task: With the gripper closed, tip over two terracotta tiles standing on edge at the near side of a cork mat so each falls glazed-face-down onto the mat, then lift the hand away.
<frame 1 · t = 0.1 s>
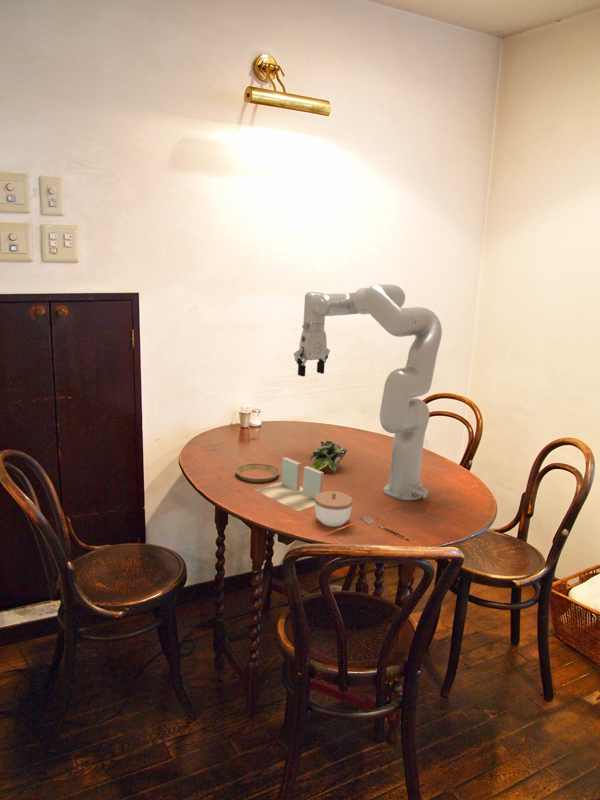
hand: (310, 374, 225), 31 cm above the table, fingers open, 9 cm apart
fork: (386, 532, 175), on the table
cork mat: (291, 496, 195), on the table
tile B: (290, 486, 201), point 1 cm above the table, touching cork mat
plant saucer: (257, 478, 209), on the table
tile A: (312, 496, 194), point 1 cm above the table, touching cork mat
lidded jar: (331, 524, 178), on the table
passion flower: (327, 471, 219), on the table
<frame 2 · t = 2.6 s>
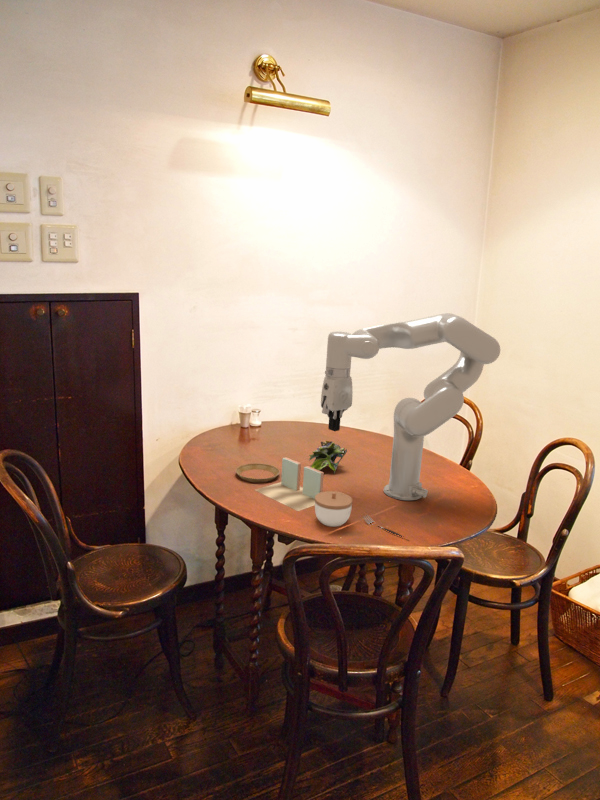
hand: (333, 429, 194), 21 cm above the table, fingers closed
nothing on the table moved.
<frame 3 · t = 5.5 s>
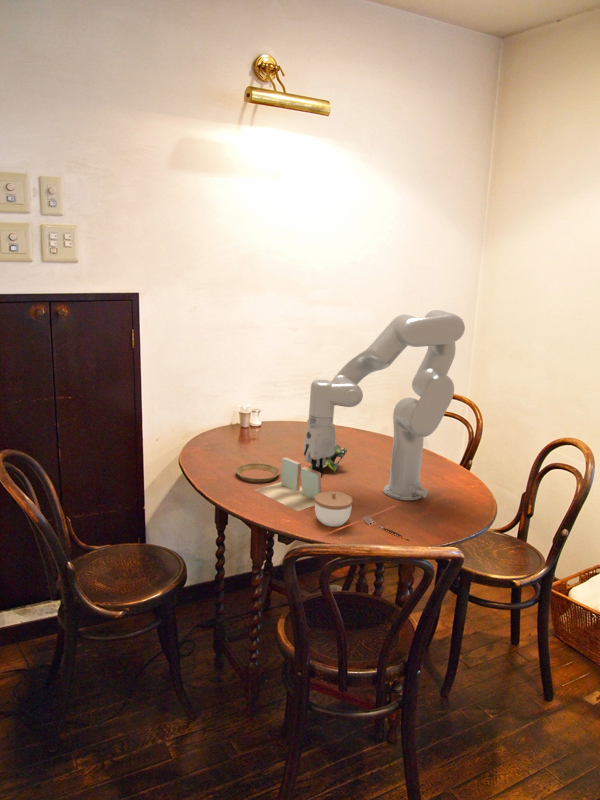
hand: (316, 476, 194), 7 cm above the table, fingers closed
tile A: (312, 496, 194), point 1 cm above the table, tilted 8°, touching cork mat
everything else where it was.
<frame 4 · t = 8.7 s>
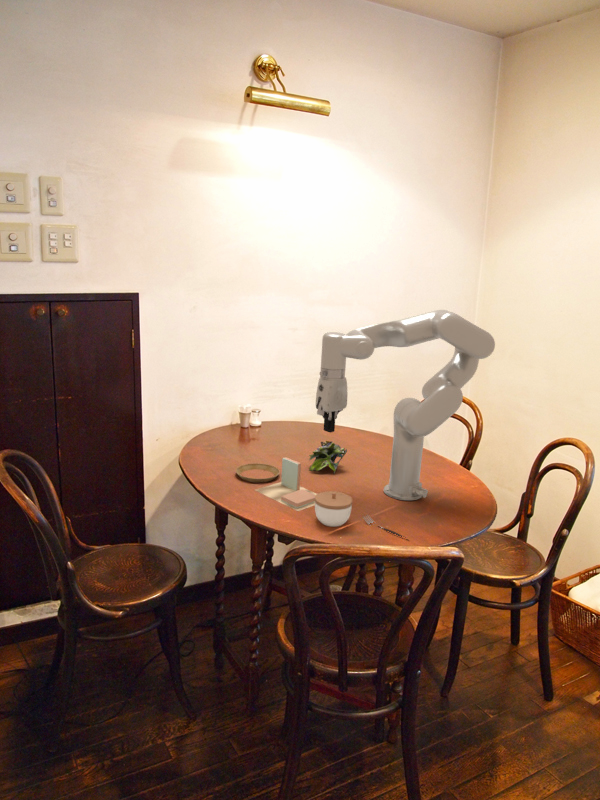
hand: (328, 431, 193), 21 cm above the table, fingers closed
tile A: (310, 495, 193), point 1 cm above the table, tilted 90°, touching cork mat
everything else where it was.
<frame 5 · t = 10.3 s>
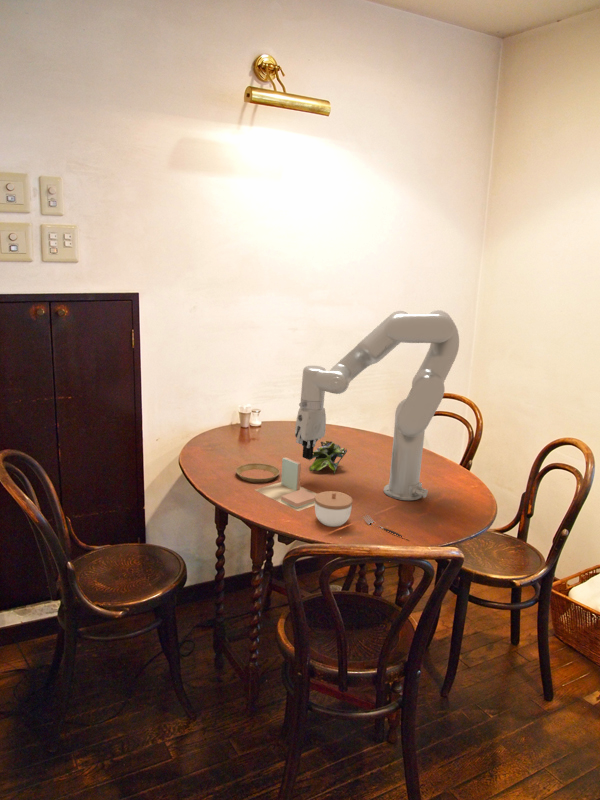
hand: (307, 457, 204), 9 cm above the table, fingers closed
nothing on the table moved.
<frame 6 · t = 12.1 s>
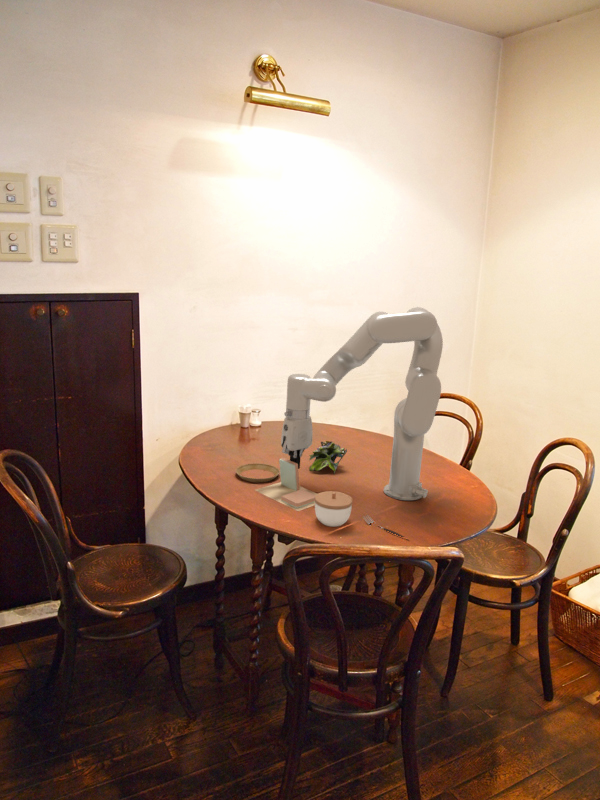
hand: (294, 467, 200), 7 cm above the table, fingers closed
tile B: (290, 486, 201), point 1 cm above the table, tilted 9°, touching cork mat
everything else where it was.
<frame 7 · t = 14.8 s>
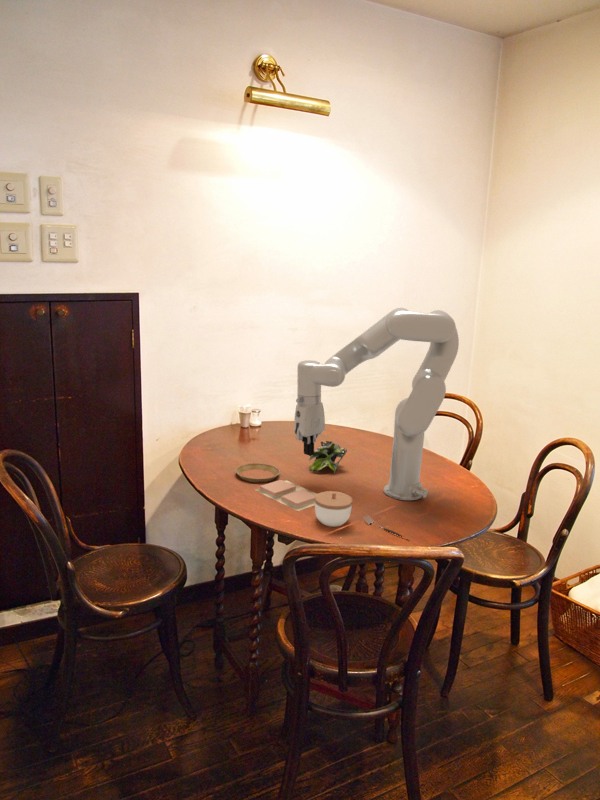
hand: (308, 454, 202), 11 cm above the table, fingers closed
tile B: (288, 485, 200), point 1 cm above the table, tilted 90°, touching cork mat
everything else where it was.
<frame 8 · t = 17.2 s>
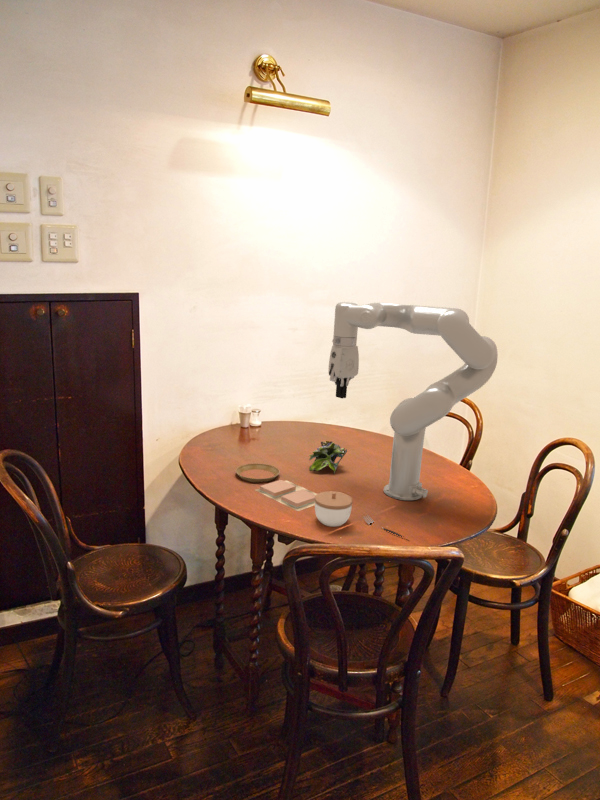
hand: (340, 397, 203), 29 cm above the table, fingers closed
nothing on the table moved.
at the end: tile A tilted 90°; tile B tilted 90°; tile A inside the target area (5.8 cm from its centre), point 1.4 cm above the table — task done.
